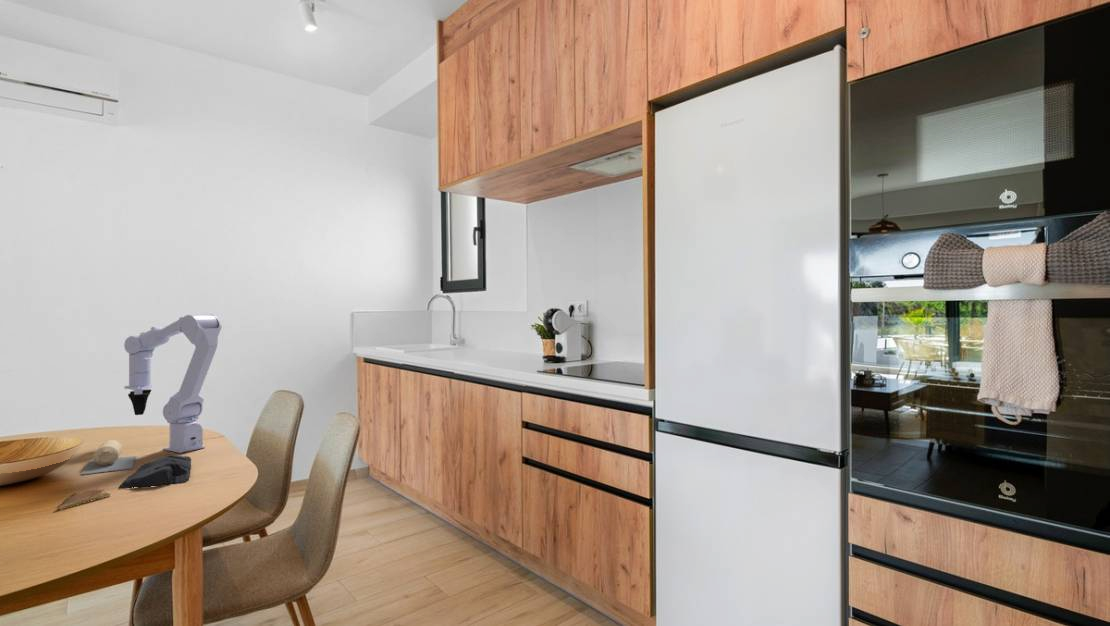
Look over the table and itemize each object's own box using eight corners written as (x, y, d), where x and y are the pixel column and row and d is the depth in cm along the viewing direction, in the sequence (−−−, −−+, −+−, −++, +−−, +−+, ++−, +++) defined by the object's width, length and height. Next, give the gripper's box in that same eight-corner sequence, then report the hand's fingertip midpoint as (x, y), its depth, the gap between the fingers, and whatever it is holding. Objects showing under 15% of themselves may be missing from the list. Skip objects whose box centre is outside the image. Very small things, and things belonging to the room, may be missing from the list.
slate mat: (89, 462, 161) (89, 461, 161) (136, 457, 168) (136, 456, 168) (80, 475, 149) (80, 474, 149) (131, 469, 155) (131, 468, 155)
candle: (126, 451, 167) (121, 459, 158) (105, 461, 164) (99, 470, 156) (116, 436, 166) (111, 443, 157) (95, 446, 163) (88, 454, 154)
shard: (57, 513, 124) (56, 505, 124) (38, 508, 127) (38, 500, 127) (112, 498, 134) (111, 491, 134) (93, 493, 137) (93, 486, 137)
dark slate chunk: (200, 463, 164) (200, 447, 164) (187, 485, 144) (187, 467, 144) (137, 469, 157) (137, 452, 157) (114, 493, 137) (114, 474, 137)
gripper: (126, 370, 185) (126, 410, 186) (122, 375, 173) (122, 418, 173) (152, 369, 189) (152, 408, 189) (150, 374, 177) (150, 416, 177)
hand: (139, 413), depth 182 cm, fingers open, 5 cm apart
